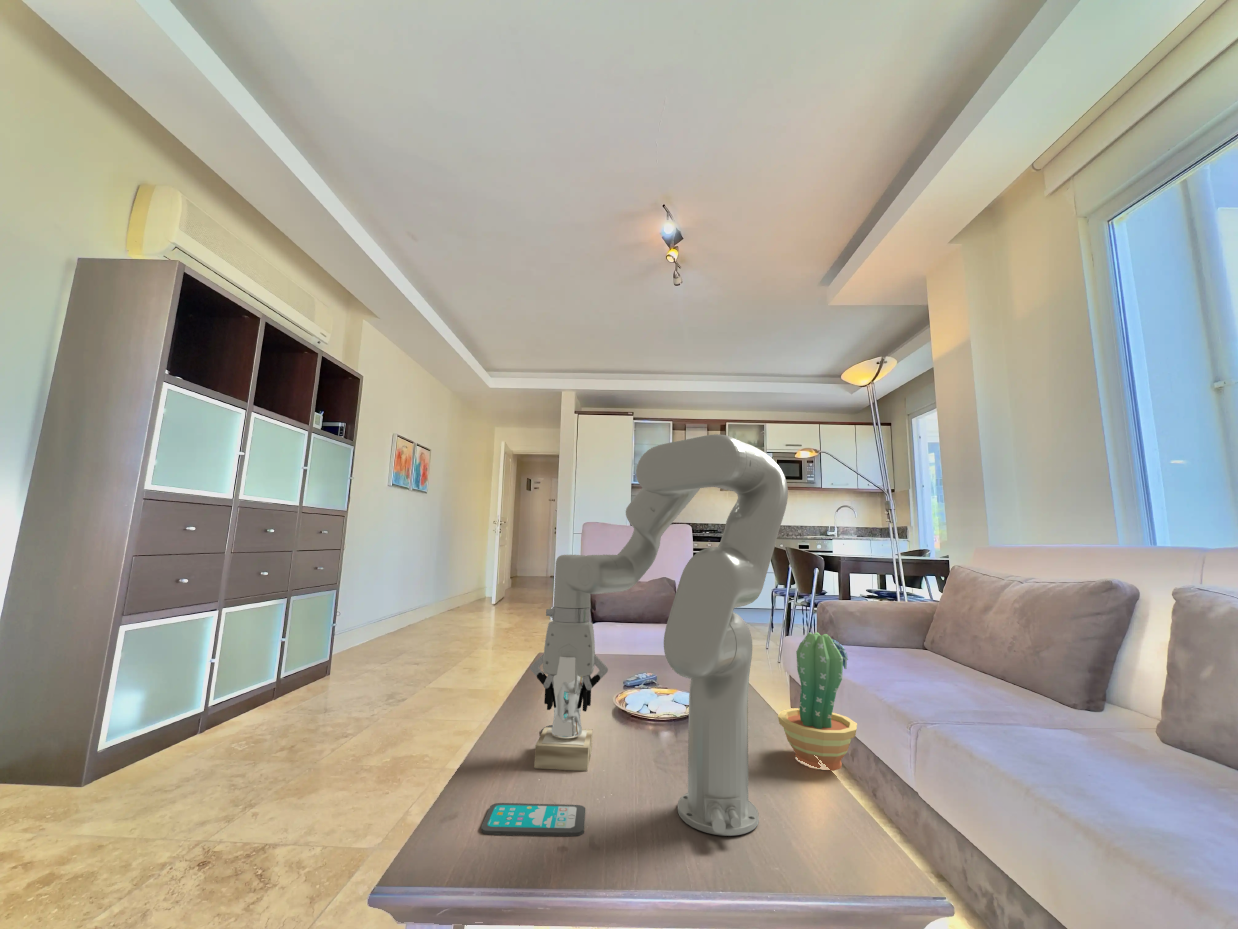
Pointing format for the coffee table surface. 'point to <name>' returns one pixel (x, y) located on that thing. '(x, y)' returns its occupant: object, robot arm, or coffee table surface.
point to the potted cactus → (819, 704)
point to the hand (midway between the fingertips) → (567, 707)
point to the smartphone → (534, 819)
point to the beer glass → (567, 699)
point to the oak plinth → (563, 751)
